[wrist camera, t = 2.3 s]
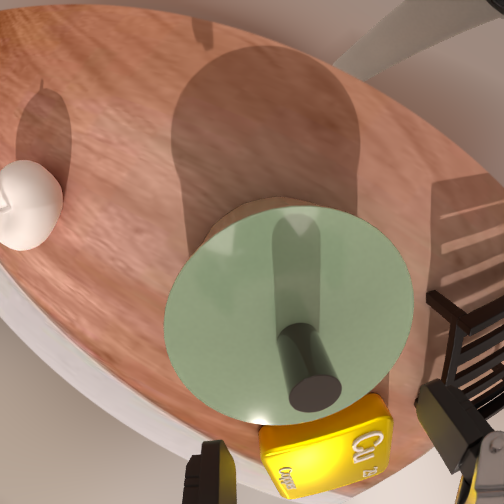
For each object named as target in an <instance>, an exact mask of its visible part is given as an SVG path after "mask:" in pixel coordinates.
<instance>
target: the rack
mask: <svg viewBox="0 0 504 504" xmlns="http://www.w3.org/2000/svg"><path fill="white" fill-rule="evenodd" d="M426 303H427V304H428V305H429V306H431V307H432V308H433V309H434V310H435V311H436V312H438V313H439V314H440V315H441V316H442V317H443V318H445V319H446V320H447V321H448V322H449V323H450V331H449V338H448V344H447V351H446V356H445V362H444V367H443V372H442V377H441V381H442V382H443V383H444V385H445V386H446V387H447V386H449V385H453V386H454V387H456V388H459V387H460V386H462V385H464V384H466V383H468V382H469V381H471V380H473V379H475V378H476V377H478V376H480V375H481V374H483V373H485V372H486V371H488V370H490V369H492V370H493V371H494V372H492V373H491V374H489V375H487V376H486V377H484V378H483V379H481V380H479V381H478V382H476V383H474V384H472V385H471V386H469V387H467V388H465V389H464V390H462V392H463V393H464V394H465V395H466V397H467V398H468V400H469V399H470V398H472V397H474V396H475V395H477V394H479V393H480V392H482V391H484V390H485V389H487V388H488V387H490V386H491V385H493V384H494V383H496V382H497V381H499V380H500V379H502V380H503V381H502V382H501V383H499V384H498V385H496V386H495V387H493V388H492V389H490V390H489V391H487V392H485V393H484V394H482V395H481V396H479V397H477V398H476V399H474V400H472V401H471V403H472V404H473V406H475V408H476V409H478V408H479V407H481V406H483V405H484V404H486V403H487V402H489V401H490V400H492V399H493V398H495V397H496V396H497V395H499V394H501V393H502V392H503V391H504V365H503V364H502V363H501V362H502V361H504V347H502V348H501V349H499V350H497V351H496V352H494V353H493V354H491V355H489V356H488V357H486V358H484V359H483V360H481V361H479V362H477V363H476V364H474V365H472V366H470V367H468V368H467V369H465V370H463V371H461V372H459V373H457V374H456V371H457V367H458V366H459V365H461V364H463V363H465V362H467V361H469V360H471V359H473V358H474V357H476V356H478V355H480V354H481V353H483V352H485V351H487V350H488V349H490V348H492V347H493V346H495V345H497V344H498V343H500V342H502V341H503V340H504V325H502V326H500V327H498V328H497V329H495V330H493V331H492V332H490V333H488V334H486V335H484V336H483V337H481V338H479V339H477V340H475V341H473V342H472V343H470V344H468V345H466V346H464V347H462V342H463V337H465V336H467V335H468V336H472V335H473V334H475V333H477V332H479V331H481V330H483V329H485V328H487V327H488V326H490V325H492V324H494V323H496V322H497V321H499V320H501V319H502V318H504V296H502V297H500V298H498V299H496V300H494V301H492V302H490V303H488V304H486V305H484V306H482V307H480V308H478V309H476V310H474V311H472V312H470V313H468V314H467V313H466V312H464V311H463V310H462V309H460V308H459V307H457V306H456V305H455V304H453V303H452V302H451V301H450V300H448V299H447V298H446V297H444V296H443V295H442V294H440V293H439V292H438V291H436V290H433V291H431V292H428V293H427V295H426ZM417 403H418V399H416V400H415V403H414V406H415V407H416V408H417ZM502 409H504V393H502V394H501V395H499V396H498V397H496V398H495V399H493V400H492V401H490V402H489V403H487V404H486V405H484V406H483V407H481V408H480V409H478V411H479V412H480V414H481V415H482V416H483V417H484V419H485V420H487V419H489V418H491V417H492V416H494V415H495V414H497V413H498V412H499V411H501V410H502ZM427 435H428V434H427ZM432 443H433V442H432ZM435 448H436V447H435Z"/></svg>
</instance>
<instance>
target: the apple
mask: <svg viewBox="0 0 504 504" xmlns="http://www.w3.org/2000/svg"><path fill="white" fill-rule="evenodd" d="M62 207H63V194H62V189H61V187H60V184H59V183H58V181H57V180H56V179H55V177H54V176H53V175H52V174H51V173H50V172H49V171H48V170H46V169H45V168H44V167H43V166H41V165H40V164H39V163H37V162H33V161H30V160H18V161H15V162H12V163H10V164H8V165H7V166H5V167H4V168H3V169H2V170H1V171H0V242H1V243H2V244H4V245H5V246H7V247H9V248H11V249H14V250H18V251H23V250H29V249H32V248H34V247H37V246H39V245H40V244H41V243H42V242H44V241H45V240H46V239H47V237H48V236H49V235H50V233H51V232H52V230H53V228H54V227H55V225H56V223H57V221H58V218H59V216H60V214H61V211H62Z"/></svg>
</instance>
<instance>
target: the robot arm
mask: <svg viewBox="0 0 504 504" xmlns="http://www.w3.org/2000/svg"><path fill="white" fill-rule="evenodd" d="M491 1H492V2H493V3H494V4H496V5H497V6H499V7H500V8H502V9H504V0H491ZM416 412H417V417H418V419H419V421H420V423H421V425H422V426H423V428H424V429H425V431H426V433H427V434H428V436H429V438H430V439H431V441H432V442H433V444H434V446H435V447H436V449H437V451H438V452H439V454H440V456H441V457H442V459H443V461H444V462H445V464H446V466H447V468H448V469H449V471H450V473H451V474H454V473H456V472H457V471H459V470H460V471H461V473H462V476H461V480H460V484H459V488H458V492H457V496H456V500H455V504H504V432H503V431H494V429H492V427H491V426H490V425H489V424H488V423H487V421H486V420H485V419H484V417H483V416H482V415H481V414H480V412H479V411H478V410H477V409H476V408H475V406H473V404H472V403H471V401H470V400H468V398H467V397H466V395H465V394H464V393H463V392H462V391H461V390H460V389H458V388H456V387H454V386H453V385H449V386H447V387H446V386H445V385H444V383H443V382H442V381H441V380H440V379H438V378H437V379H435V380H432V381H430V382H428V383H426V384H424V385H422V386H421V387H420V393H419V398H418V403H417V408H416ZM184 486H185V487H184V491H183V500H182V504H237V499H236V498H237V497H236V468H235V463H234V460H233V458H232V456H231V454H230V452H229V450H228V449H227V447H226V445H225V443H224V441H223V440H214V441H204V442H203V443H202V449H201V455H192V457H191V458H190V460H189V462H188V463H187V465H186V473H185V481H184Z"/></svg>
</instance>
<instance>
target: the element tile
mask: <svg viewBox="0 0 504 504" xmlns="http://www.w3.org/2000/svg"><path fill="white" fill-rule="evenodd" d="M393 423H394V422H393V417H392V416H391V414H390V412H389V410H388V408H387V407H386V405H385V403H384V401H383V399H382V398H381V397H380V395H378V394H375V393H372V394H366V395H365V396H363V397H362V398H361V399H359V400H357V401H356V402H354V403H353V404H351V405H350V406H348V407H346V408H344V409H342V410H340V411H338V412H336V413H334V414H331V415H329V416H326V417H323V418H320V419H317V420H313V421H309V422H304V423H299V424H291V425H264V426H262V428H261V429H260V430H259V434H258V435H259V446H260V457H261V461H262V463H263V465H264V467H265V468H266V470H267V472H268V474H269V476H270V477H271V479H272V481H273V483H274V485H275V486H276V488H277V490H278V492H279V493H280V495H281V496H282V497H284V498H287V499H296V498H300V497H305V496H309V495H313V494H317V493H321V492H325V491H329V490H332V489H336V488H339V487H342V486H346V485H349V484H352V483H355V482H358V481H361V480H364V479H367V478H369V477H372V476H375V475H377V474H380V473H382V472H383V471H384V470H385V469H386V467H387V466H388V463H389V457H390V449H391V441H392V433H393Z"/></svg>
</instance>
